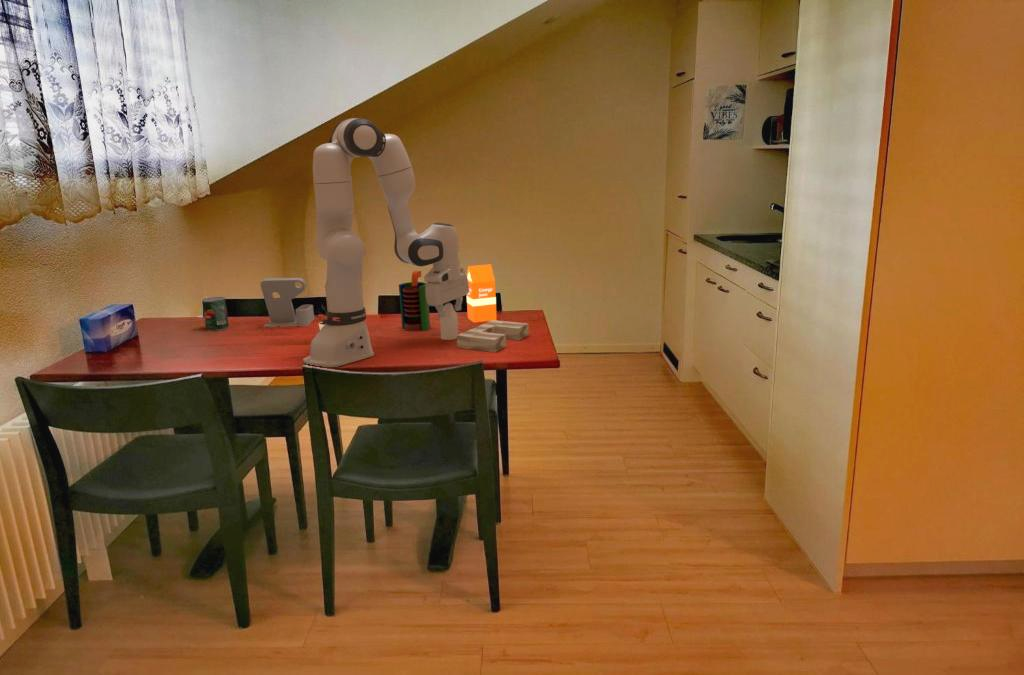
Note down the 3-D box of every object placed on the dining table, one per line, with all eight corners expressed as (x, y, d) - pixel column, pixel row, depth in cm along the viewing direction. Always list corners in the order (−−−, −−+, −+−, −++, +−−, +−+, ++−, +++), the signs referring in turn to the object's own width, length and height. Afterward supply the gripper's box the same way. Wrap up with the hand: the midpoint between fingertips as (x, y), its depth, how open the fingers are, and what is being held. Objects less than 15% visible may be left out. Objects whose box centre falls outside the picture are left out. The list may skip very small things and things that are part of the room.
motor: (397, 330, 257) (393, 274, 252) (409, 324, 265) (405, 269, 260) (424, 331, 254) (420, 274, 249) (434, 325, 262) (431, 270, 257)
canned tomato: (201, 330, 266) (197, 301, 263) (214, 325, 273) (210, 296, 270) (220, 331, 264) (216, 301, 261) (233, 326, 271) (229, 297, 269)
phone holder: (317, 320, 276) (312, 273, 271) (308, 327, 266) (303, 278, 262) (272, 321, 277) (266, 274, 272) (261, 327, 267) (255, 279, 263)
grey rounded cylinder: (437, 304, 239) (440, 301, 244) (439, 340, 242) (442, 335, 248) (455, 304, 239) (458, 300, 244) (457, 339, 242) (459, 335, 247)
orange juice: (467, 318, 271) (464, 264, 266) (489, 315, 274) (487, 262, 269) (473, 322, 264) (471, 267, 259) (496, 320, 267) (494, 265, 262)
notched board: (495, 352, 226) (494, 339, 225) (457, 347, 233) (456, 335, 232) (528, 335, 244) (528, 323, 243) (492, 331, 251) (492, 320, 250)
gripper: (456, 266, 249) (459, 305, 253) (420, 277, 232) (424, 319, 236) (472, 267, 246) (474, 307, 250) (437, 278, 229) (440, 321, 233)
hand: (450, 313), depth 243 cm, fingers open, 8 cm apart
